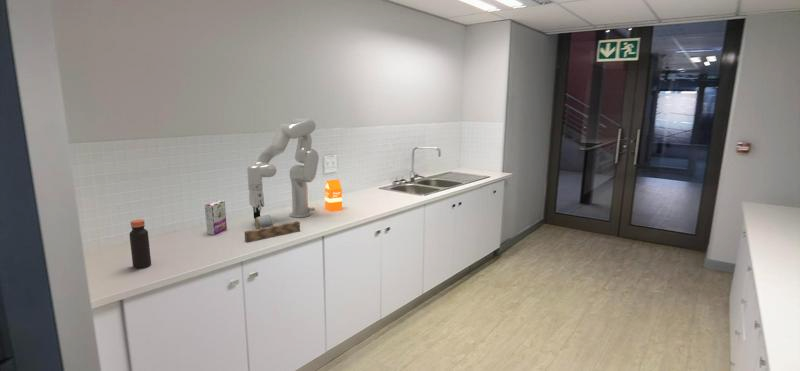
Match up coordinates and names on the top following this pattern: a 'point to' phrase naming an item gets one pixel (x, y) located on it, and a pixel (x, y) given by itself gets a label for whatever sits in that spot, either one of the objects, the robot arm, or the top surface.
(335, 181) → the orange juice
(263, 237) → the walnut board
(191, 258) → the top surface
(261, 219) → the ceramic mug
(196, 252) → the top surface
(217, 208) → the candy bar box
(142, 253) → the bottle
